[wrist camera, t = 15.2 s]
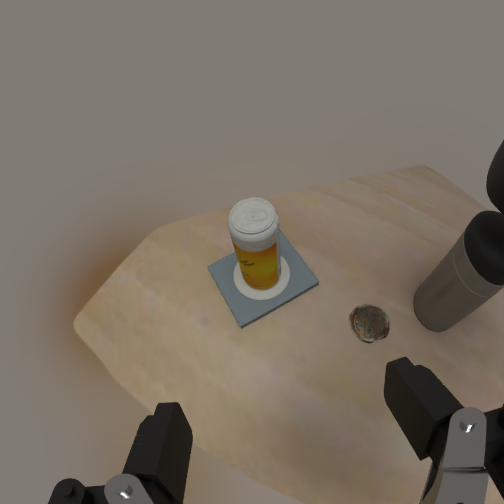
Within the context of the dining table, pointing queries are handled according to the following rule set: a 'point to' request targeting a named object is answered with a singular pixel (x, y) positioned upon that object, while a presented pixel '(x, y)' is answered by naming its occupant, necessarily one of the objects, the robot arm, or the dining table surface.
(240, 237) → the beer can
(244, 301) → the board
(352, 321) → the decorative disc
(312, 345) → the dining table surface
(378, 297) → the dining table surface
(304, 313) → the dining table surface
